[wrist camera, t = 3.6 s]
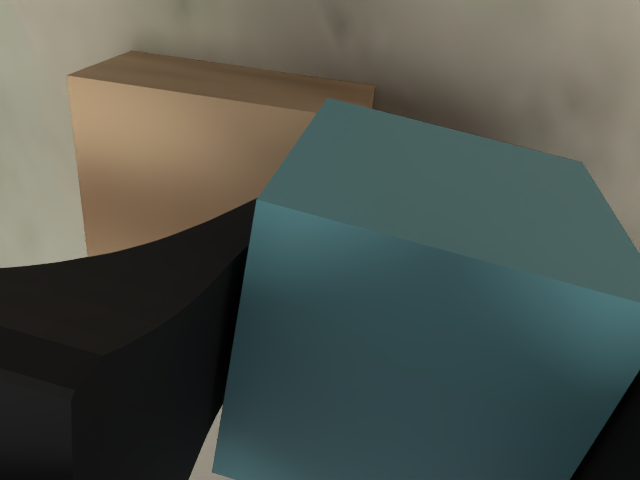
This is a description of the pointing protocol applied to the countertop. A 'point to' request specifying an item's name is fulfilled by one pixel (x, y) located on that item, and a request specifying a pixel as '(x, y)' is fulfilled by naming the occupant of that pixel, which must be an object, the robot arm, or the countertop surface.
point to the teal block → (426, 310)
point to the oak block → (183, 140)
